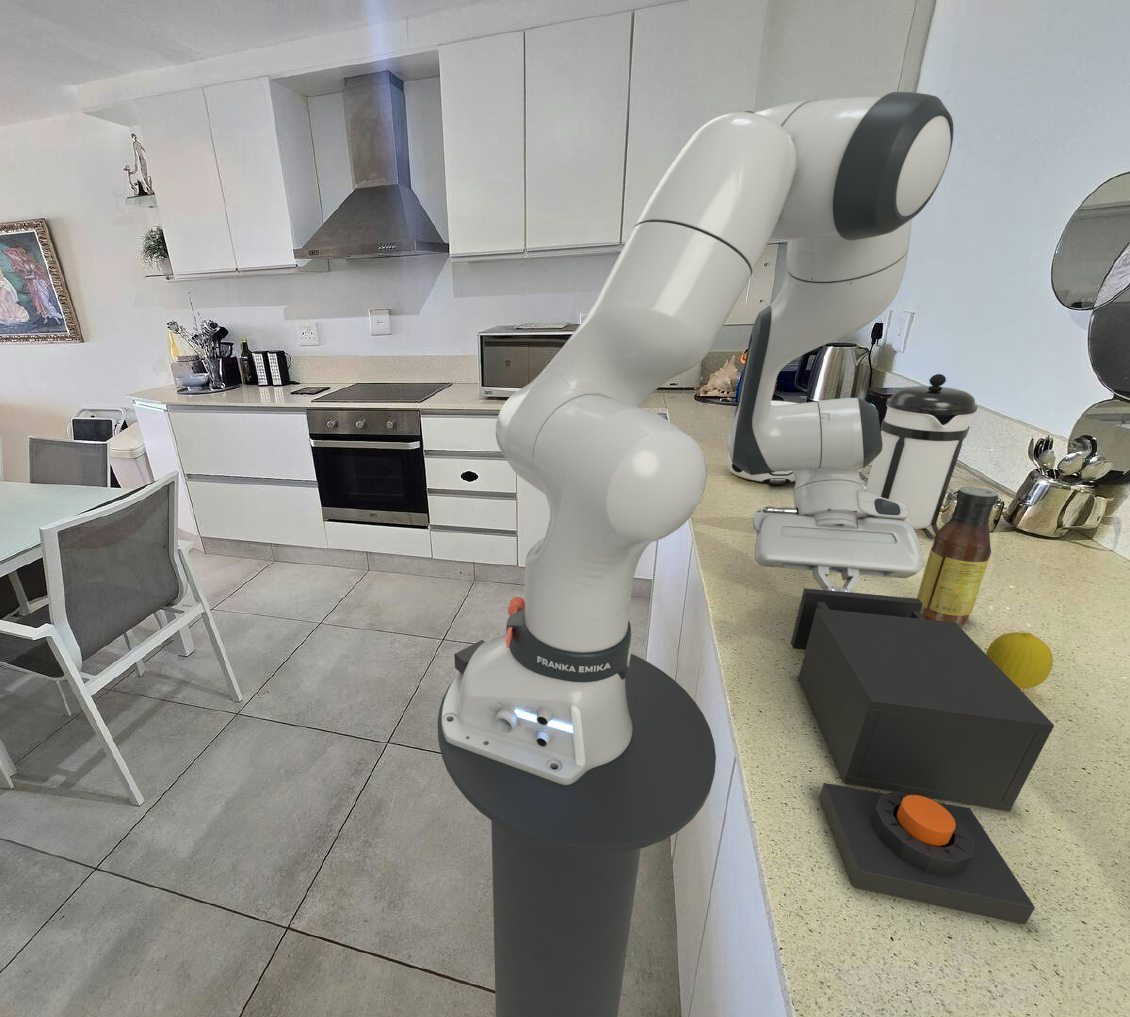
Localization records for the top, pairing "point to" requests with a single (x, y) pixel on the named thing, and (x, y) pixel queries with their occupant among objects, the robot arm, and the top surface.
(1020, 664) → the lemon
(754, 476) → the doce de leite jar
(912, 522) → the coffee press
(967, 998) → the top surface
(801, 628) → the fryer drawer
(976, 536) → the sauce bottle
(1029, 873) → the top surface
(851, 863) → the control block
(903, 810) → the button
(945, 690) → the charcoal drawer unit
